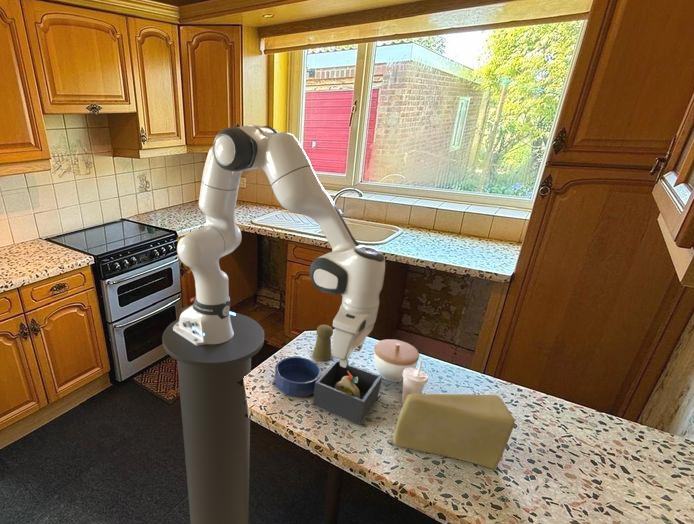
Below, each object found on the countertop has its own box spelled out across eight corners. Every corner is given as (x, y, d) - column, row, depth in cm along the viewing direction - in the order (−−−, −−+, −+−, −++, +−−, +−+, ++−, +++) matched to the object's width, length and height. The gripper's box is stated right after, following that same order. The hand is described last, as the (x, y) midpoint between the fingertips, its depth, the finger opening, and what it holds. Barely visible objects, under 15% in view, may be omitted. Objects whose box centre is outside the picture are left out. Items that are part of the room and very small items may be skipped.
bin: (312, 404, 111) (315, 382, 107) (333, 380, 120) (336, 359, 117) (359, 425, 103) (364, 402, 100) (377, 397, 113) (382, 376, 110)
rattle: (370, 400, 111) (376, 367, 106) (350, 412, 107) (356, 377, 102) (349, 387, 117) (354, 354, 111) (330, 397, 112) (334, 364, 107)
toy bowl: (266, 386, 118) (267, 372, 116) (288, 365, 127) (289, 352, 125) (306, 403, 111) (307, 389, 109) (326, 380, 120) (328, 366, 118)
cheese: (396, 458, 94) (408, 409, 87) (389, 429, 102) (399, 381, 96) (498, 472, 90) (518, 421, 84) (482, 440, 99) (500, 392, 92)
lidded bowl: (420, 375, 123) (428, 345, 118) (400, 393, 115) (407, 361, 110) (383, 358, 131) (389, 329, 126) (362, 374, 123) (367, 343, 118)
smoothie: (417, 413, 107) (428, 371, 101) (393, 403, 111) (402, 362, 105) (424, 401, 112) (434, 359, 106) (400, 392, 115) (410, 351, 109)
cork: (311, 358, 131) (314, 329, 126) (314, 349, 136) (317, 321, 131) (330, 362, 129) (333, 332, 124) (332, 352, 134) (335, 323, 129)
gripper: (362, 294, 108) (354, 337, 115) (329, 323, 94) (323, 371, 100) (385, 300, 105) (376, 344, 111) (355, 331, 90) (347, 380, 97)
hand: (350, 357), depth 106 cm, fingers open, 8 cm apart
